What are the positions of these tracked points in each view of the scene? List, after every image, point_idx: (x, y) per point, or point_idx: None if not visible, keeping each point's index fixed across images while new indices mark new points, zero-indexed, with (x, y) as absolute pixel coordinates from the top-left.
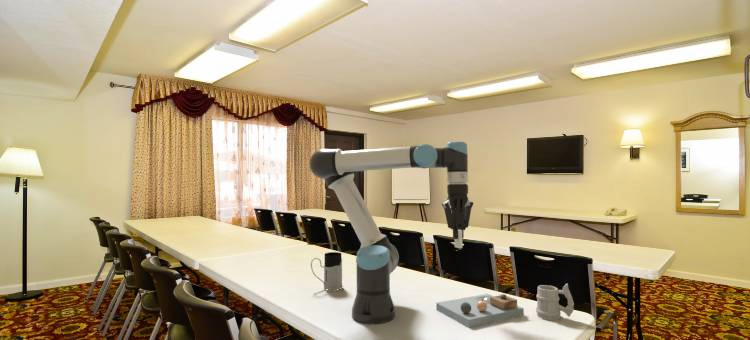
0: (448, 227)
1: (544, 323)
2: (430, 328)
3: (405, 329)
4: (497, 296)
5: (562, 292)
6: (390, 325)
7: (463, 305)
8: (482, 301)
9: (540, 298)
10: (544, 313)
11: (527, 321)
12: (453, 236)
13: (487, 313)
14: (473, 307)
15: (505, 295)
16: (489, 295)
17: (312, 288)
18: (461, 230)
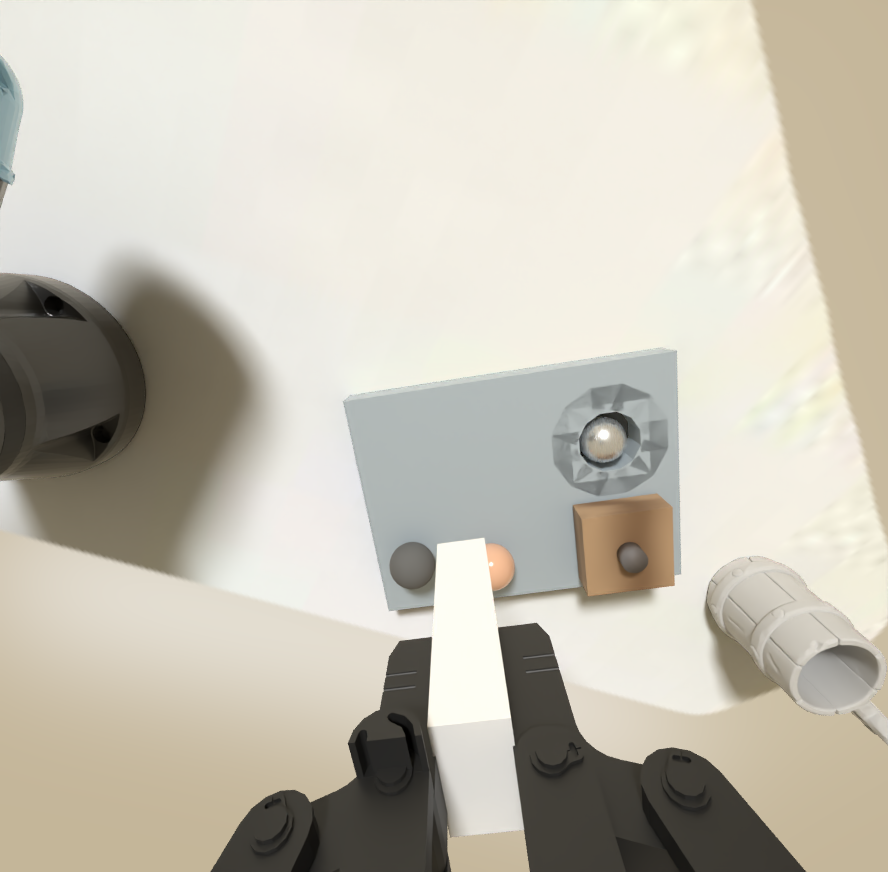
0: (252, 818)
1: (675, 635)
2: (255, 560)
3: (163, 543)
4: (623, 521)
5: (856, 713)
6: (112, 495)
7: (395, 579)
8: (493, 584)
9: (752, 652)
10: (719, 625)
11: (632, 606)
12: (389, 678)
13: None
14: (481, 507)
15: (640, 569)
16: (665, 381)
17: None
18: (510, 828)
